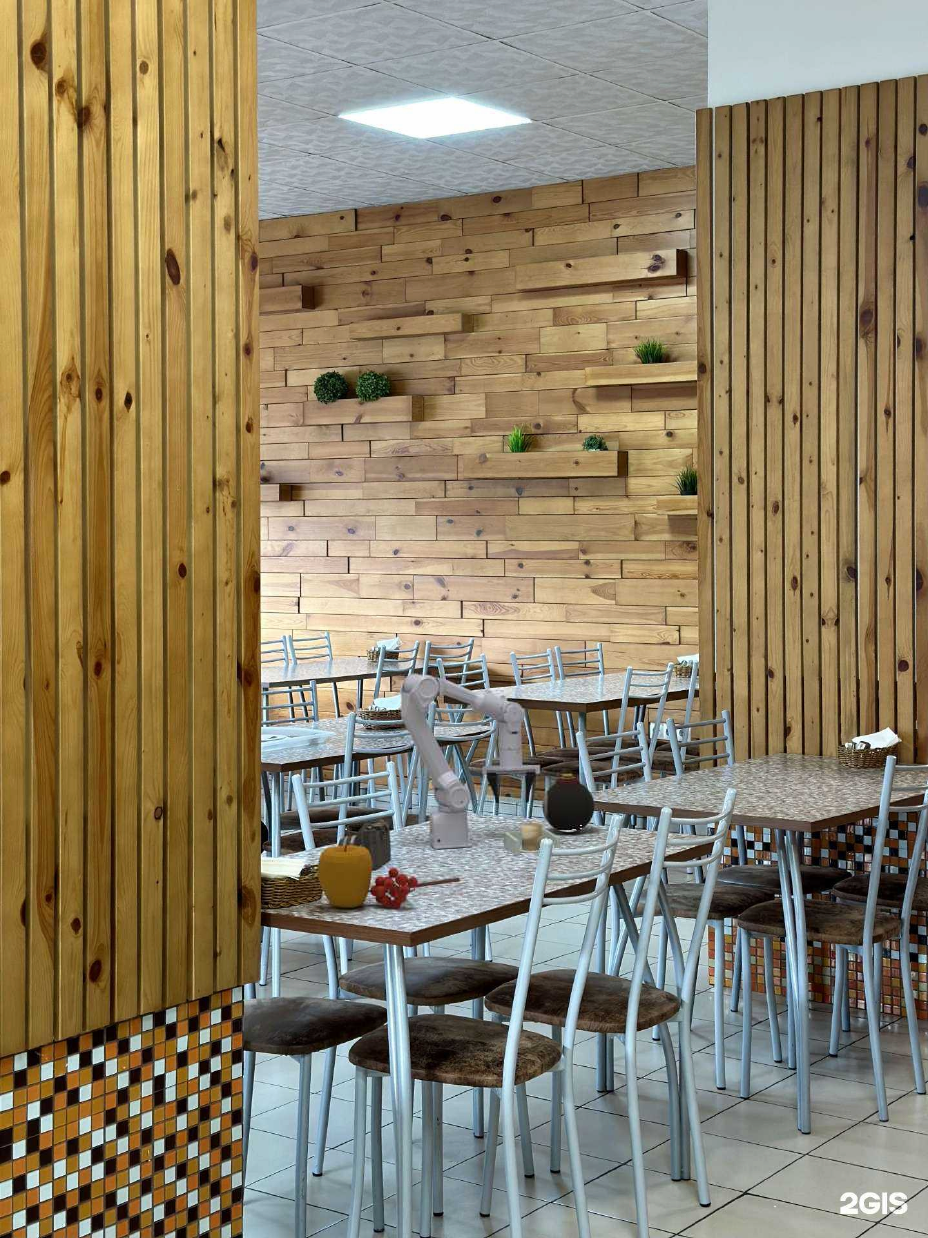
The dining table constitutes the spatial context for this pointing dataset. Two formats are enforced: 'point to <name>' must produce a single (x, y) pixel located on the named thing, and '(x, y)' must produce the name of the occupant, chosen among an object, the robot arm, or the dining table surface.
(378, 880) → the decorative berry sprig
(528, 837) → the birch cylinder
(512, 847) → the shallow grey tray
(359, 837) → the camera
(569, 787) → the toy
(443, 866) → the dining table surface
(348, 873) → the apple
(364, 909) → the dining table surface
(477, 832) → the dining table surface
